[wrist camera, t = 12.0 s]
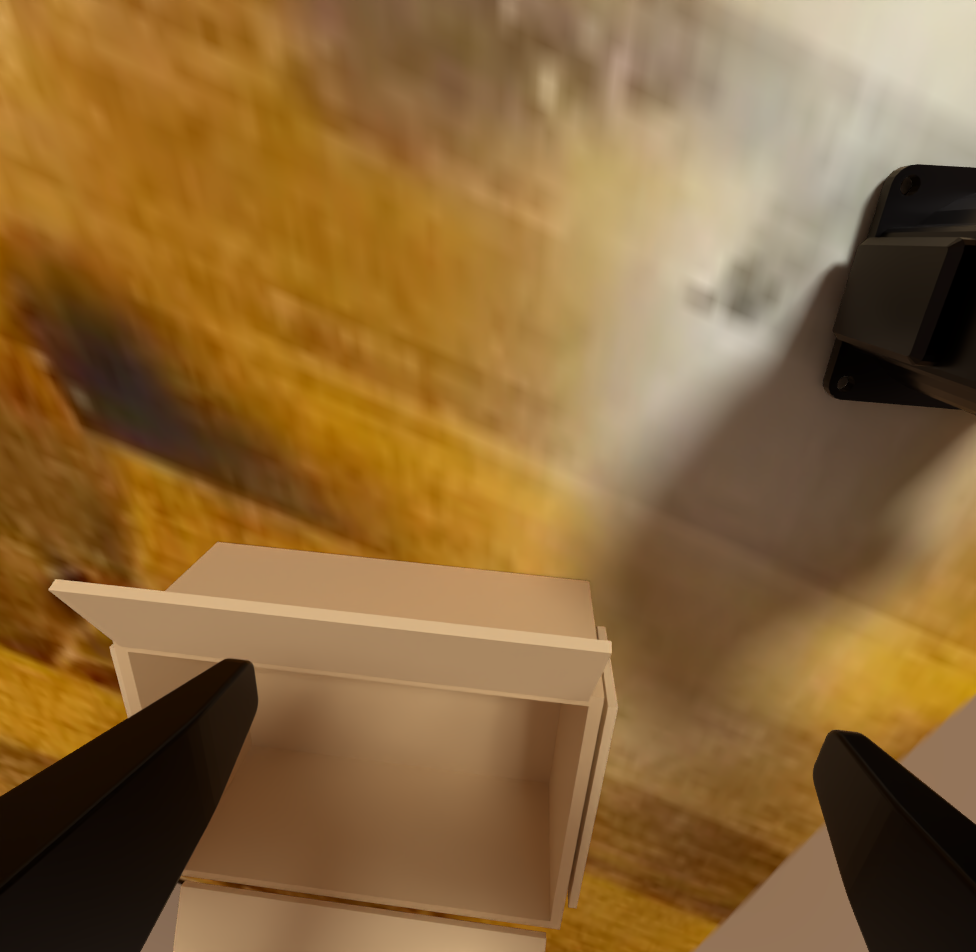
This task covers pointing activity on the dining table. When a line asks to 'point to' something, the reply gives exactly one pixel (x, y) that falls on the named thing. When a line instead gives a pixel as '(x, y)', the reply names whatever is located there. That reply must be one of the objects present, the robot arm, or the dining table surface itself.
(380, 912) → the flap camera side
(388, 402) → the dining table surface
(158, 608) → the tan cardboard box flap
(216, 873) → the carton
